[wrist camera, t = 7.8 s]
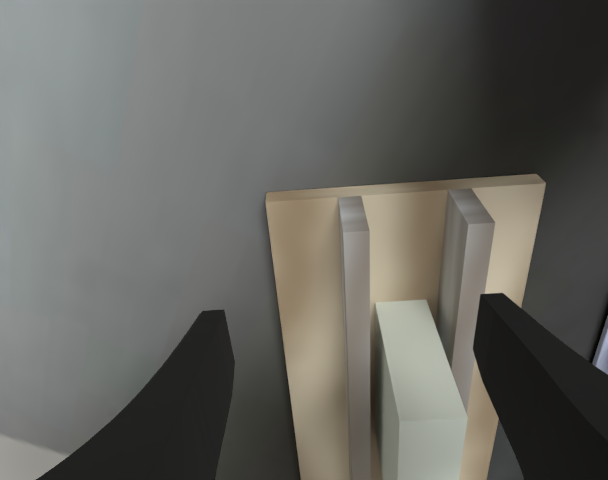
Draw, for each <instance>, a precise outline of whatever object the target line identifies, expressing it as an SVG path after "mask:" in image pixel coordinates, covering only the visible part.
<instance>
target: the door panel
mask: <svg viewBox="0 0 608 480" xmlns="http://www.w3.org/2000/svg"><path fill="white" fill-rule="evenodd" d="M467 420H468V417H467V414H466V411H465V408H464V406H463V403H462V400H461V397H460V394H459V391H458V388H457V386H456V383H455V380H454V377H453V374H452V371H451V369H450V366H449V363H448V360H447V357H446V354H445V351H444V349H443V346H442V343H441V340H440V337H439V334H438V332H437V329H436V326H435V323H434V320H433V317H432V314H431V312H430V309H429V306H428V303H427V300H426V299H424V300H408V301H393V302H377V303H375V435H376V441H377V448H378V454H379V461H380V468H381V474H382V480H459V474H460V468H461V461H462V454H463V447H464V440H465V434H466V427H467Z"/></svg>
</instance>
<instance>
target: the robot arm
mask: <svg viewBox="0 0 608 480" xmlns="http://www.w3.org/2000/svg"><path fill="white" fill-rule="evenodd" d="M473 352H474V355H475V359H476V362H477V366H478V369H479V372H480V375H481V378H482V382H483V384H484V386H485V389H486V391H487V393H488V395H489V398H490V400H491V402H492V404H493V407H494V409H495V411H496V413H497V415H498V418H499V420H500V422H501V424H502V426H503V429H504V431H505V433H506V435H507V438H508V440H509V442H510V444H511V446H512V449H513V451H514V453H515V455H516V458H517V460H518V463H519V465H520V468H521V470H522V473H523V476H524V479H525V480H608V316H607V319H606V322H605V325H604V328H603V332H602V335H601V338H600V341H599V344H598V347H597V350H596V353H595V356H594V359H593V362H592V364H591V363H590V362H589V361H587V360H586V359H584V358H583V357H582V356H580V355H579V354H577V353H576V352H575V351H573V350H572V349H571V348H569V347H568V346H567V345H565V344H564V343H563V342H562V341H560V340H559V339H558V338H556V337H555V336H554V335H553V334H551V333H550V332H549V331H548V330H546V329H545V328H544V327H543V326H542V325H540V324H539V323H538V322H537V321H536V320H534V319H533V318H532V317H531V316H530V315H528V314H527V313H526V312H525V311H524V310H523V309H521V308H520V307H519V306H518V305H517V304H516V303H514V302H513V301H512V300H511V299H510V298H508V297H507V296H506V295H505V294H504V293H491V294H480V301H479V308H478V315H477V322H476V329H475V336H474V342H473ZM234 365H235V361H234V356H233V351H232V346H231V341H230V337H229V332H228V327H227V322H226V317H225V312H224V310H210V311H202V312H201V313H200V315H199V316H198V317H197V319H196V320H195V322H194V323H193V325H192V326H191V328H190V329H189V331H188V332H187V333H186V335H185V336H184V338H183V339H182V340H181V342H180V343H179V344H178V346H177V347H176V348H175V350H174V351H173V352H172V354H171V355H170V356H169V358H168V359H167V360H166V362H165V363H164V364H163V365H162V367H161V368H160V369H159V370H158V371H157V373H156V374H155V375H154V376H153V377H152V378H151V380H150V381H149V382H148V383H147V384H146V386H145V387H144V388H143V389H142V390H141V391H140V392H139V393H138V394H137V396H136V397H135V398H134V399H133V400H132V401H131V402H130V403H129V404H128V405H127V406H126V407H125V408H124V409H123V410H122V411H121V412H120V413H119V414H118V415H117V416H116V417H115V418H114V419H113V420H111V421H110V422H109V423H108V424H107V425H106V426H105V427H104V428H102V429H101V430H100V431H99V432H98V433H97V434H96V435H94V436H93V437H92V438H91V439H90V440H89V441H88V442H86V443H85V444H84V445H83V446H81V447H80V448H79V449H78V450H76V451H75V452H74V453H72V454H71V455H70V456H69V457H67V458H66V459H65V460H63V461H62V462H60V463H59V464H58V465H56V466H55V467H54V468H52V469H51V470H49V471H48V472H47V473H45V474H44V475H43V476H41V477H39V478H38V479H36V480H215V476H216V470H217V465H218V460H219V455H220V451H221V446H222V441H223V436H224V432H225V427H226V422H227V417H228V412H229V407H230V403H231V397H232V389H233V378H234Z"/></svg>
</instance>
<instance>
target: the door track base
mask: <svg viewBox="0 0 608 480" xmlns="http://www.w3.org/2000/svg"><path fill="white" fill-rule="evenodd" d="M545 186H546V183H545V182H544V181H543V180H542V179H541V178H540V177H539V176H538V175H537V174H525V175H511V176H496V177H482V178H467V179H453V180H438V181H424V182H409V183H394V184H380V185H365V186H351V187H336V188H322V189H307V190H293V191H278V192H267V195H266V202H265V203H266V210H267V218H268V226H269V234H270V242H271V250H272V257H273V265H274V273H275V281H276V289H277V296H278V304H279V312H280V320H281V328H282V335H283V343H284V351H285V359H286V367H287V375H288V382H289V390H290V398H291V406H292V414H293V421H294V429H295V437H296V445H297V453H298V460H299V468H300V476H301V480H382V474H381V468H380V461H379V454H378V448H377V441H376V435H375V303H377V302H393V301H408V300H424V299H426V300H427V303H428V306H429V309H430V312H431V314H432V317H433V320H434V323H435V326H436V329H437V332H438V334H439V337H440V340H441V343H442V346H443V349H444V351H445V354H446V357H447V360H448V363H449V366H450V369H451V371H452V374H453V377H454V380H455V383H456V386H457V388H458V391H459V394H460V397H461V400H462V403H463V406H464V408H465V411H466V414H467V417H468V420H467V427H466V434H465V440H464V447H463V454H462V461H461V468H460V474H459V480H486V479H487V474H488V469H489V464H490V459H491V454H492V449H493V444H494V439H495V434H496V429H497V424H498V419H499V418H498V415H497V413H496V411H495V409H494V407H493V404H492V402H491V400H490V398H489V395H488V393H487V391H486V389H485V386H484V384H483V382H482V378H481V375H480V372H479V369H478V366H477V362H476V359H475V355H474V352H473V342H474V336H475V329H476V322H477V315H478V308H479V301H480V294H491V293H504V294H505V295H506V296H507V297H508V298H510V299H511V300H512V301H513V302H514V303H516V304H517V305H518V306H519V307H520V308H521V305H522V300H523V295H524V291H525V286H526V281H527V276H528V271H529V266H530V261H531V256H532V251H533V246H534V241H535V236H536V231H537V226H538V221H539V216H540V211H541V206H542V201H543V196H544V191H545Z"/></svg>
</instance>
